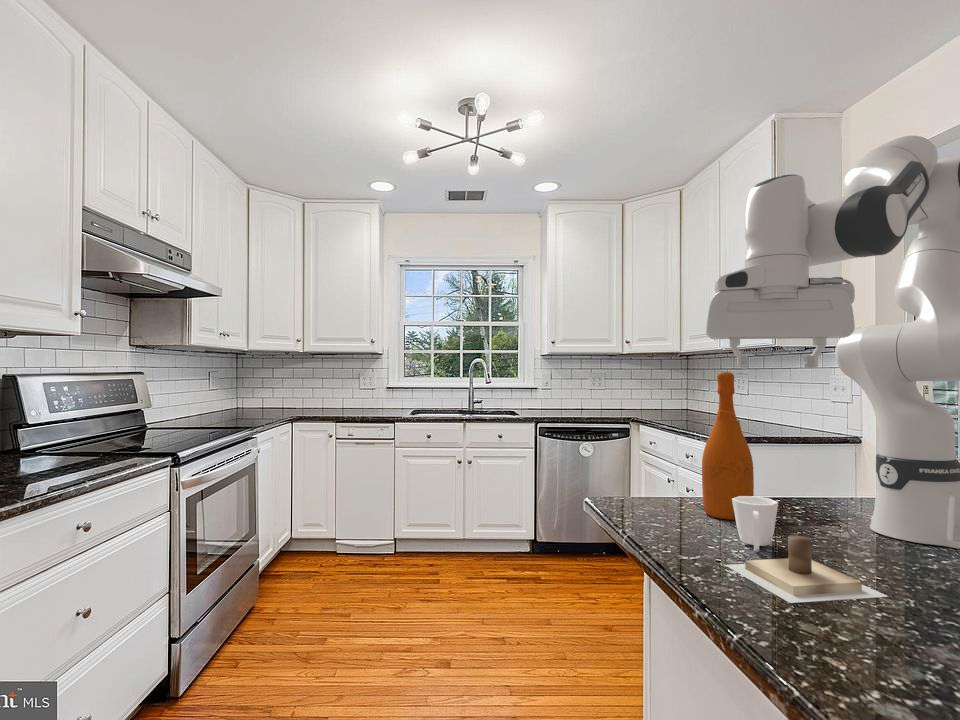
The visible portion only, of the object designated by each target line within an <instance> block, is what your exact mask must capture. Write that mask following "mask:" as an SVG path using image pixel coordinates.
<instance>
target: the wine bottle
mask: <svg viewBox="0 0 960 720" xmlns="http://www.w3.org/2000/svg"><path fill="white" fill-rule="evenodd" d="M716 380H717V390H716V391H717V394H718V395H719V397H718V410H717V413H716V419H715V423H714V425H713V426H712V429H711V431H710V433H709V435H708V438H707V440H706V443H705V446H704V449H703V452H702V457H701V458H702V459H701V485H702V486H701V488H702V505H703V511H704V513H705V514H707V515H708V516H709V517H713V518H715V519H721V520H727V521H736V519H735V513H734V508H733V502H732V499H733V498H735V497H738V496H754V495H755V494H754V492H755V491H754V490H755V487H754V485H755V483H754V475H755V474H754V461H753V456H752V453H751V451H750V447H749V444H748V442H747V440H746V437H745V435H744V434H743V432H742V427H741V422H740V420H739V419H737V414H736V412H735V407H734V397H733V396H734V394H735V375H734V373H732V372H729V371H724V372H723V371H721V372H719V373H718V374H717V376H716Z"/></svg>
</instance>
